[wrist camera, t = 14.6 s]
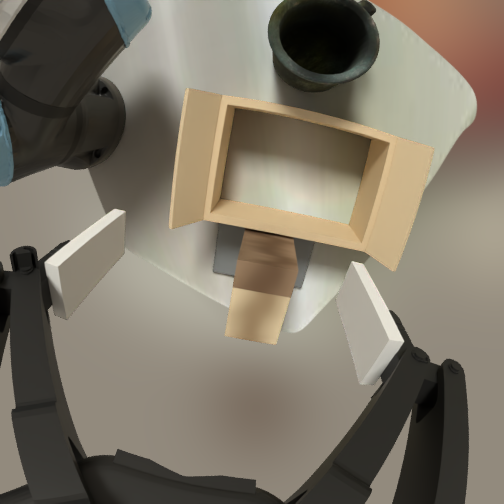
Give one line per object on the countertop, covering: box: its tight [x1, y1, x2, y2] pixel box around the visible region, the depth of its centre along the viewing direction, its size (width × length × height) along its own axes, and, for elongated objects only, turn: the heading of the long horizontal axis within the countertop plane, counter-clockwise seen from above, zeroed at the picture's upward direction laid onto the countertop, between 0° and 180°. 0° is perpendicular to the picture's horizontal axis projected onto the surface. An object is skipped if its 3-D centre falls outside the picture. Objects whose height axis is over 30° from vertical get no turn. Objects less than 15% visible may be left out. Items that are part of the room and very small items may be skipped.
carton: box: [169, 88, 435, 272], centre depth 33 cm, size 26×15×12 cm, turn 80°
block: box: [225, 228, 298, 345], centre depth 37 cm, size 6×10×14 cm, turn 170°
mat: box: [213, 223, 315, 288], centre depth 44 cm, size 14×10×1 cm
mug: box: [268, 0, 380, 92], centre depth 26 cm, size 11×15×12 cm
